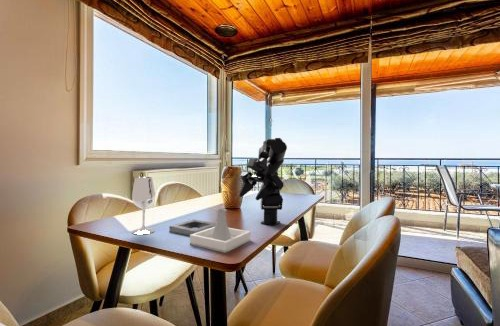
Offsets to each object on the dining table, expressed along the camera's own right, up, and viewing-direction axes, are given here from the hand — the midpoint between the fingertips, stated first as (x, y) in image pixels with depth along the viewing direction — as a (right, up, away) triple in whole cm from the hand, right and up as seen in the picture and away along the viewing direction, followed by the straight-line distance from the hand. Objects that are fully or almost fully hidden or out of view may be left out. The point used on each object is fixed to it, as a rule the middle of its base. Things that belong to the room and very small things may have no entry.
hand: (247, 197), depth 92 cm
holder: (-20, -13, +7) cm, 25 cm away
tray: (-9, -14, -7) cm, 18 cm away
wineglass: (-38, -13, +4) cm, 41 cm away
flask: (-9, -13, -7) cm, 17 cm away
